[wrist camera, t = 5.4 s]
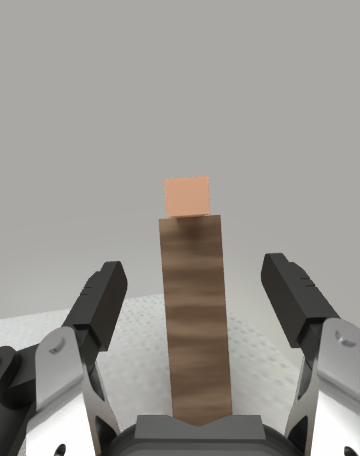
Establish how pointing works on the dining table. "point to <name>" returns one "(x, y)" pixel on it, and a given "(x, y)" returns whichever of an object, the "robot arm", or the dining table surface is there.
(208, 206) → the peach-coloured block
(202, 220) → the stand
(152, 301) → the dining table surface
